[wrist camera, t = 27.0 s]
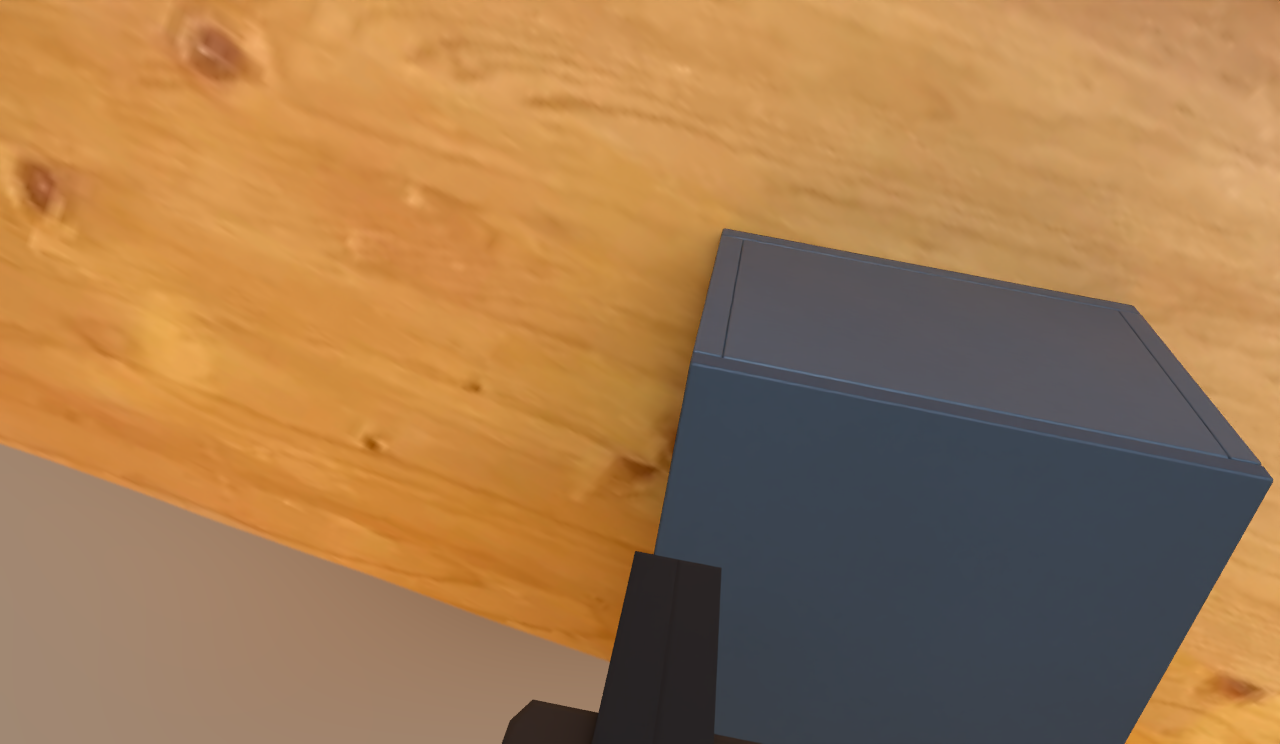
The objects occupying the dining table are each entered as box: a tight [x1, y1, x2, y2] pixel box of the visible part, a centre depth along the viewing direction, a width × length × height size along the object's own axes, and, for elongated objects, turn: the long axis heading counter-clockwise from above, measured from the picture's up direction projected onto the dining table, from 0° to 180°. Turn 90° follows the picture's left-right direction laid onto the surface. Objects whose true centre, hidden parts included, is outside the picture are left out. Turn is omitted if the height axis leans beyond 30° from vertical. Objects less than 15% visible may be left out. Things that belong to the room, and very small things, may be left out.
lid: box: [654, 353, 1273, 744], centre depth 31 cm, size 17×17×1 cm
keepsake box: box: [693, 229, 1261, 465], centre depth 36 cm, size 16×17×12 cm
